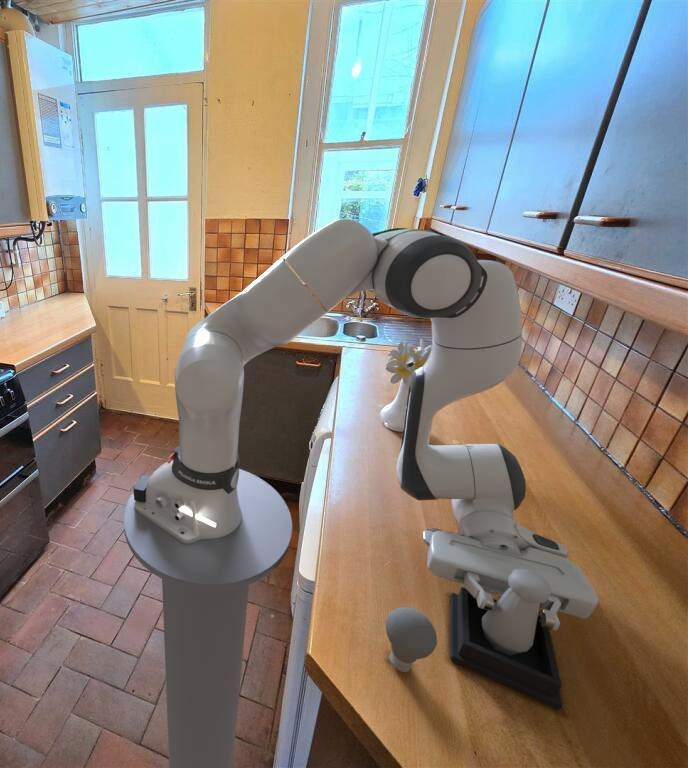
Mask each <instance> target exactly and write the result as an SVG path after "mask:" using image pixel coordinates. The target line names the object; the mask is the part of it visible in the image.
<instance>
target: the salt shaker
mask: <svg viewBox="0 0 688 768" xmlns="http://www.w3.org/2000/svg"><path fill="white" fill-rule="evenodd" d="M508 582H509V588H508V589H507V590H506V592H505V593H504V594H503V595H501V596H500V597H499V598H498V599H496V600H497V601H496V603H495V604H494V607H493V608H492V611H489V610H488V611H487V612H486V614H485V615H484V616H483V617H482V628H483V633H484V637H485V638H486V639H487V641H488V642H489V643H490V644H491V646H492V647H493V648H494V649H495V650H498V651H500V652H502V653H505V654H507V655H509V656H511V655H514V654H517V653H522V652H527V651H528V650H529V649H530V648H531V646H532V645H533V640H534V635H535V629H536V623H537V618H538V616H539V611H540V607H541V606H540V603H544V602H546V600H547V599H548V598H549V597H550V595H551V588H550V585H549V584H548V583H547V581H546V580H545V579H544V578H543V577H541V576H540V575H539V574H537V573H535V572H533V571H531V570H526V569H515V570H514V571H513V572H512V573H511V574H510V575H509V578H508Z"/></svg>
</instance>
